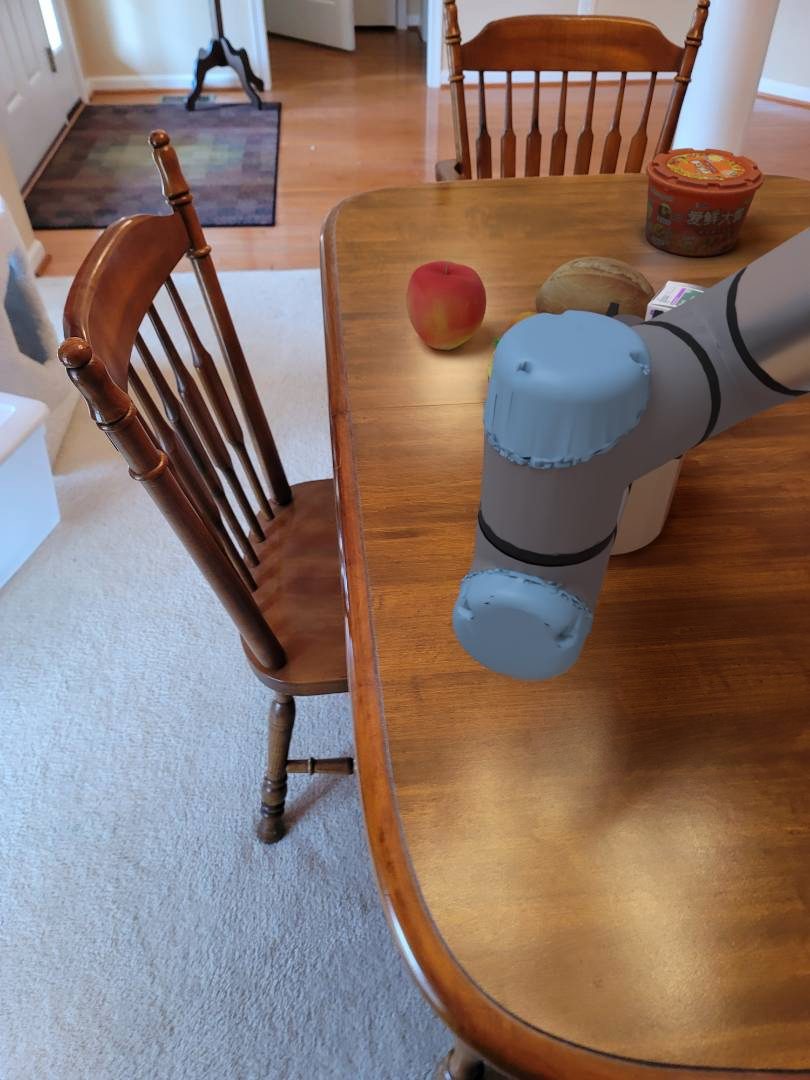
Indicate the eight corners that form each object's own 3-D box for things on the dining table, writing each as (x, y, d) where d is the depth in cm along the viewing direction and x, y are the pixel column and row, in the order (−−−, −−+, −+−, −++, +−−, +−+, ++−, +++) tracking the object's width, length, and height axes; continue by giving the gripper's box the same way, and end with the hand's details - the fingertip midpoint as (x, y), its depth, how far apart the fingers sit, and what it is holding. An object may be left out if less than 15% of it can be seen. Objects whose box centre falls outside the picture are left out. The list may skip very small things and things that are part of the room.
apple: (477, 368, 98) (482, 288, 91) (397, 360, 99) (397, 280, 92) (487, 328, 105) (493, 251, 98) (413, 321, 106) (413, 244, 99)
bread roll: (654, 347, 101) (668, 285, 96) (531, 336, 103) (537, 275, 98) (652, 310, 108) (665, 250, 103) (536, 300, 110) (542, 241, 105)
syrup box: (675, 443, 87) (710, 316, 77) (621, 426, 89) (648, 300, 79) (692, 416, 90) (727, 291, 80) (640, 401, 93) (667, 277, 83)
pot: (694, 513, 79) (720, 431, 72) (598, 577, 72) (616, 494, 66) (586, 446, 86) (601, 366, 80) (490, 499, 80) (498, 418, 74)
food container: (613, 228, 127) (625, 154, 120) (699, 212, 132) (716, 140, 124) (677, 271, 116) (695, 193, 109) (768, 251, 121) (791, 175, 113)
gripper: (457, 496, 61) (538, 342, 77) (683, 551, 56) (719, 376, 72) (461, 409, 55) (548, 264, 71) (710, 462, 51) (743, 295, 67)
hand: (634, 321), depth 72 cm, fingers closed on lid, 3 cm apart
